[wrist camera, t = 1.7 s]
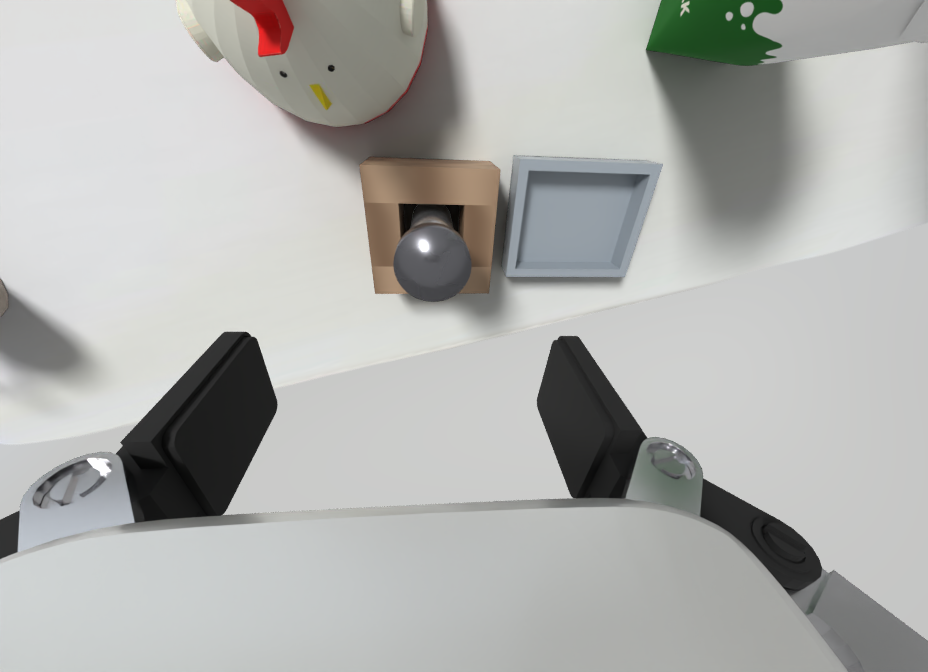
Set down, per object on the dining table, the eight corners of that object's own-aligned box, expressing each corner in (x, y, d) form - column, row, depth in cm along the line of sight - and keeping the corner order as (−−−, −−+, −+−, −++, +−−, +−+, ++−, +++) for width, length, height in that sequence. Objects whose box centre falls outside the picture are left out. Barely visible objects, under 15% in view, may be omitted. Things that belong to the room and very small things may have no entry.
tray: (646, 160, 29) (663, 164, 27) (613, 267, 35) (624, 277, 33) (513, 155, 28) (520, 158, 26) (501, 266, 34) (505, 276, 31)
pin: (459, 191, 29) (473, 228, 20) (457, 246, 32) (469, 301, 23) (402, 190, 29) (390, 226, 20) (405, 246, 32) (396, 301, 22)
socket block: (489, 161, 28) (500, 169, 24) (481, 271, 34) (488, 293, 30) (369, 156, 27) (359, 164, 23) (381, 270, 33) (375, 293, 29)
